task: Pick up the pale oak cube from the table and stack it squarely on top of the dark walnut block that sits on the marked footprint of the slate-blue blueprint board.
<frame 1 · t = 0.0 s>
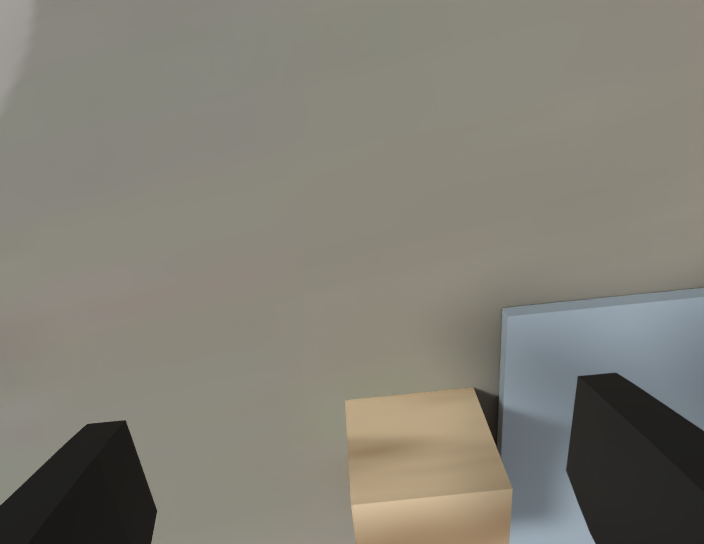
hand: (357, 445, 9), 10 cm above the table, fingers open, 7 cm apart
oak cube: (411, 440, 23), on the table
blueprint board: (671, 452, 23), on the table
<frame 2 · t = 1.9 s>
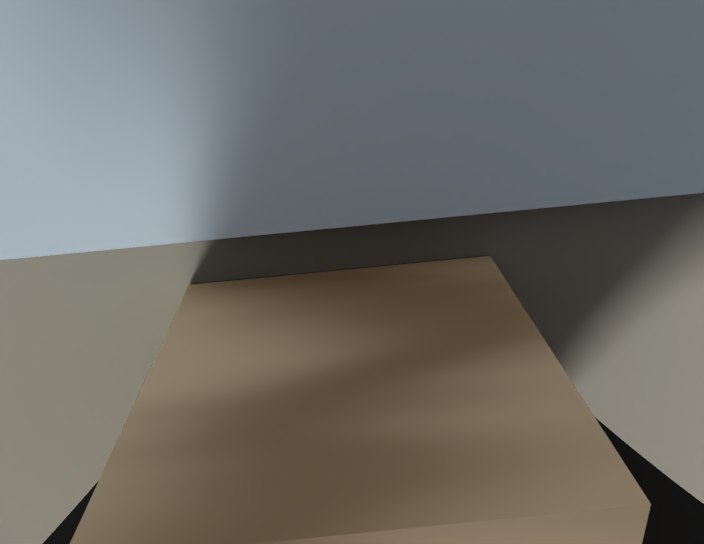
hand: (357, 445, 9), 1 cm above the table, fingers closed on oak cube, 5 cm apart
oak cube: (352, 390, 10), on the table, touching gripper
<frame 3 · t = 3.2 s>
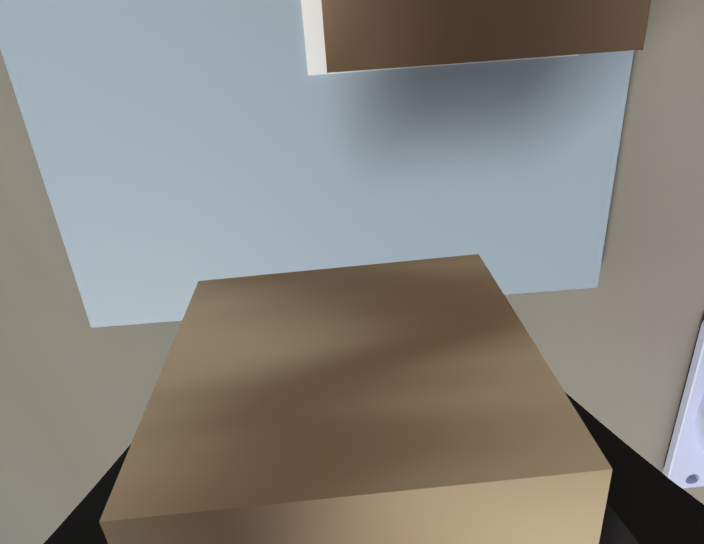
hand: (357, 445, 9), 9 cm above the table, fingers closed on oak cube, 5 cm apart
oak cube: (350, 380, 11), point 7 cm above the table, touching gripper
blueprint board: (325, 50, 15), on the table
when the fingers open (7 cm above the table, at t = 4.5 s): oak cube stays where it is, resting on walnut block.
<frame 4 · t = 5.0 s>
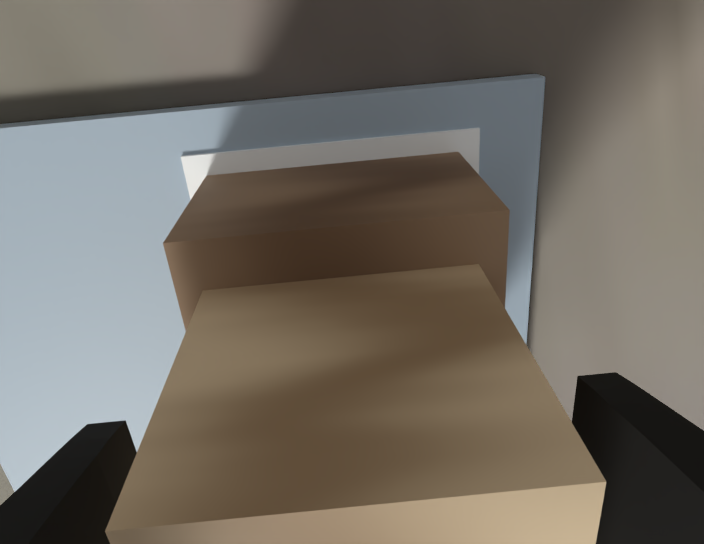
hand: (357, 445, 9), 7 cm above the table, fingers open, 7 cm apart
oak cube: (352, 387, 11), point 5 cm above the table, touching walnut block
blueprint board: (251, 364, 16), on the table
walnut block: (343, 275, 14), point 1 cm above the table, touching blueprint board, oak cube
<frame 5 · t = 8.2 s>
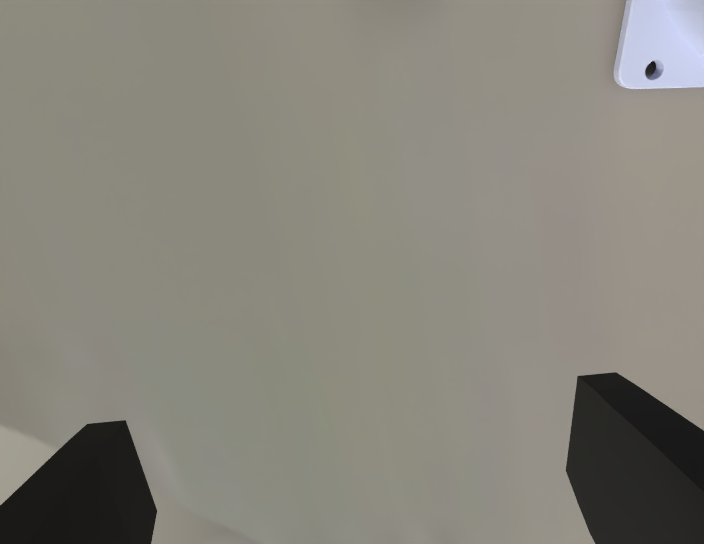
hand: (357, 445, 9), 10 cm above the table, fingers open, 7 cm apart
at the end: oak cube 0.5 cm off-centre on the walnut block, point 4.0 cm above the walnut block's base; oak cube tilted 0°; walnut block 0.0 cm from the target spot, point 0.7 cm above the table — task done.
